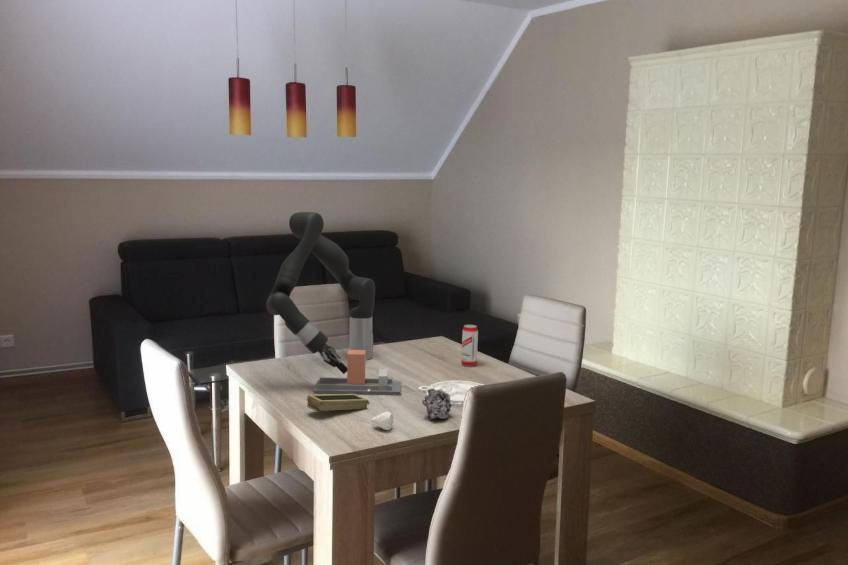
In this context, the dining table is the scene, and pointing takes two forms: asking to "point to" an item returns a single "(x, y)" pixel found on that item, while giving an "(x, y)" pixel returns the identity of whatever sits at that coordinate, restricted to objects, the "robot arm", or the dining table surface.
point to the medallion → (452, 390)
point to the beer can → (469, 345)
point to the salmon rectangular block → (356, 367)
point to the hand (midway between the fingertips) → (346, 371)
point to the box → (336, 402)
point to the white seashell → (384, 420)
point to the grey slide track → (359, 386)
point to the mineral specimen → (437, 404)
